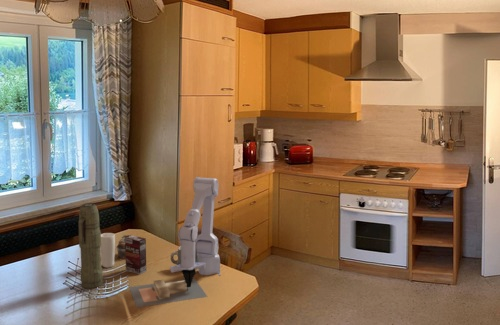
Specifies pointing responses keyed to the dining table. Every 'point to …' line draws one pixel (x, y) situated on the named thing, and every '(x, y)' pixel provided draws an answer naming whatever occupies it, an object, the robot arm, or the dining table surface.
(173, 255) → the coffee mug
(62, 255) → the dining table surface
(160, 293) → the t block
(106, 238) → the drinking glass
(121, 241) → the cupcake
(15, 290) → the dining table surface
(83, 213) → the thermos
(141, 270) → the supplement box
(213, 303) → the dining table surface
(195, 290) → the board
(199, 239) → the robot arm
